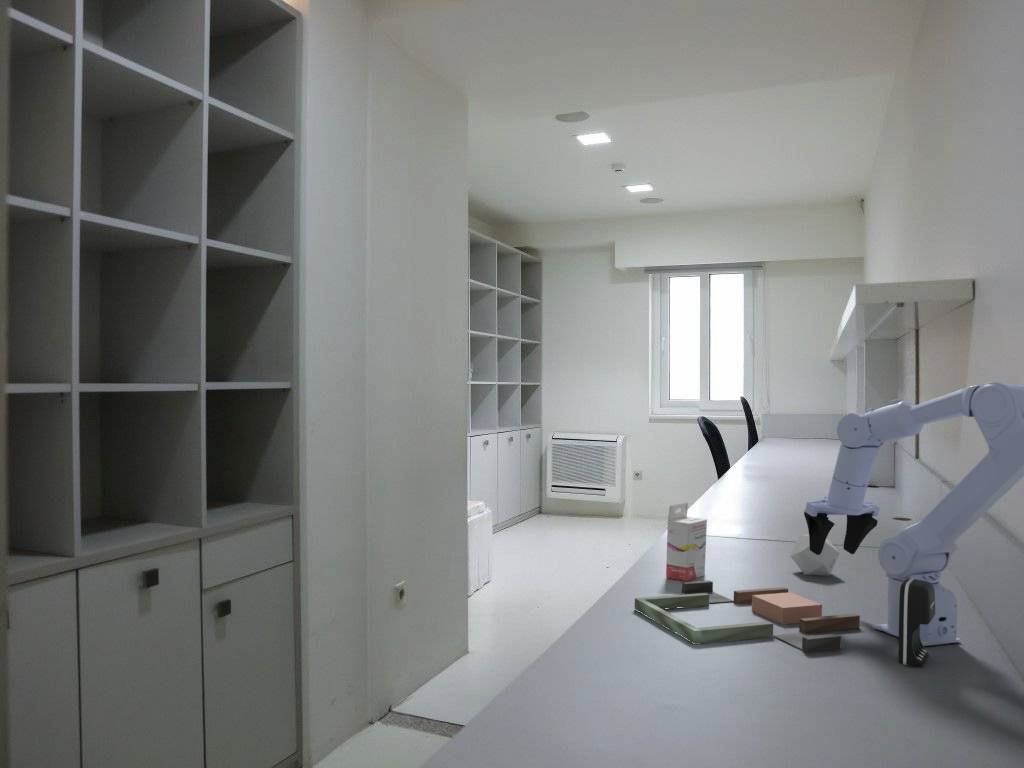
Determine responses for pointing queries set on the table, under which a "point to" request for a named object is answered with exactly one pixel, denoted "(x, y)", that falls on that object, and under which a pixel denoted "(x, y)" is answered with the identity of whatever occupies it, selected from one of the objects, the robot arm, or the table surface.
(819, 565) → the die
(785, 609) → the brick block
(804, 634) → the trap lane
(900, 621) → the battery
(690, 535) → the ink cartridge box
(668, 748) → the table surface
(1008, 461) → the robot arm
